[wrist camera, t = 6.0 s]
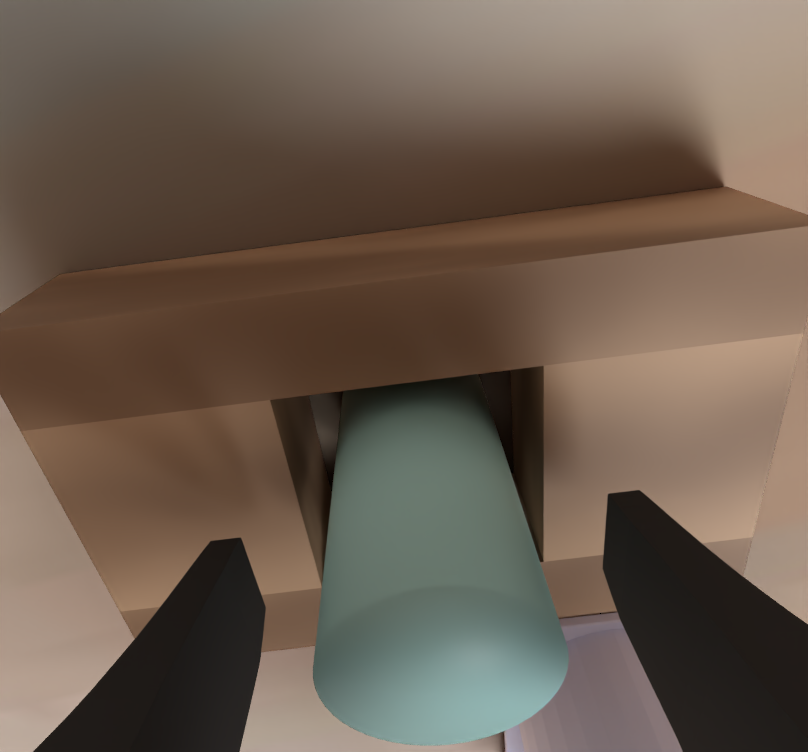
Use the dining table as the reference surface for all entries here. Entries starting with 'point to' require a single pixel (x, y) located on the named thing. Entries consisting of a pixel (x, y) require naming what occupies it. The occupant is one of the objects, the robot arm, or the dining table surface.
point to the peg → (431, 573)
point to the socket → (411, 362)
